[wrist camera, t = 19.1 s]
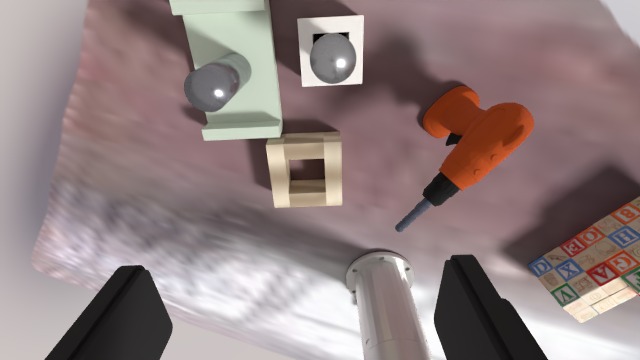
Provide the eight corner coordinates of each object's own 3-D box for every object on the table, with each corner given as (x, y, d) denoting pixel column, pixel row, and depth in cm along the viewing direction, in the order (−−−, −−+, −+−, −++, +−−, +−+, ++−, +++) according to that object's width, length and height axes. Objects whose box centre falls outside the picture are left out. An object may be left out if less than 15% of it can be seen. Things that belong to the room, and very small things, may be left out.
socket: (340, 191, 48) (342, 205, 44) (278, 193, 48) (274, 207, 45) (339, 131, 43) (341, 141, 39) (270, 134, 43) (265, 145, 40)
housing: (357, 76, 39) (362, 83, 35) (304, 78, 40) (302, 86, 35) (358, 15, 36) (363, 15, 32) (300, 18, 36) (297, 18, 32)
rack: (283, 127, 43) (279, 137, 39) (213, 130, 43) (204, 140, 40) (268, -5, 35) (262, -7, 32) (184, 0, 35) (168, -2, 32)
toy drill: (360, 177, 45) (389, 233, 31) (456, 77, 40) (541, 90, 26) (383, 196, 47) (420, 257, 33) (478, 101, 42) (568, 125, 28)
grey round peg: (254, 85, 38) (231, 111, 29) (223, 87, 39) (190, 113, 29) (248, 51, 36) (222, 67, 27) (215, 53, 37) (178, 70, 27)
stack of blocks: (543, 280, 57) (595, 341, 47) (526, 264, 55) (575, 324, 45) (664, 210, 50) (759, 265, 39) (648, 189, 48) (744, 240, 37)
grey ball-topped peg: (348, 67, 38) (356, 82, 29) (313, 68, 38) (311, 85, 29) (348, 28, 36) (356, 32, 27) (311, 30, 36) (308, 35, 27)
